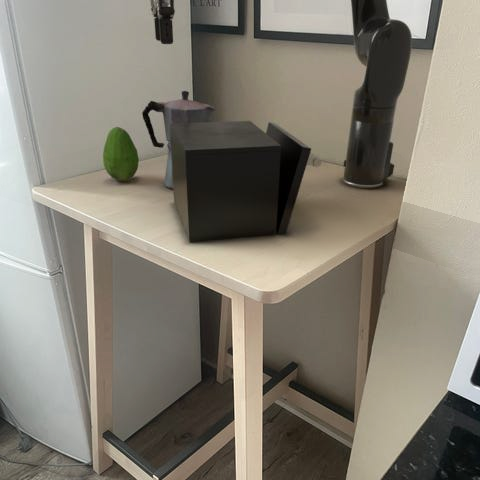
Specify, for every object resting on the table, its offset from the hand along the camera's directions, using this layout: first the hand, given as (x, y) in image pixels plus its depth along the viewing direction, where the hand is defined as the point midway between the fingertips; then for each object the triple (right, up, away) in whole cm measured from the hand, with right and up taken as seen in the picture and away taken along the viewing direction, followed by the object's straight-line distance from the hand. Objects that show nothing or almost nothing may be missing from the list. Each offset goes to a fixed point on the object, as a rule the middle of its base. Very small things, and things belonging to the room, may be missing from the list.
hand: (164, 42), depth 92 cm
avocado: (-13, -19, +25) cm, 34 cm away
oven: (+11, -32, +5) cm, 34 cm away
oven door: (+21, -31, +7) cm, 38 cm away
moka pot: (+1, -21, +22) cm, 30 cm away
